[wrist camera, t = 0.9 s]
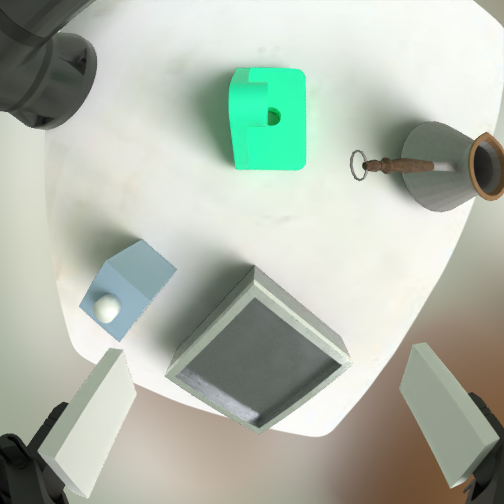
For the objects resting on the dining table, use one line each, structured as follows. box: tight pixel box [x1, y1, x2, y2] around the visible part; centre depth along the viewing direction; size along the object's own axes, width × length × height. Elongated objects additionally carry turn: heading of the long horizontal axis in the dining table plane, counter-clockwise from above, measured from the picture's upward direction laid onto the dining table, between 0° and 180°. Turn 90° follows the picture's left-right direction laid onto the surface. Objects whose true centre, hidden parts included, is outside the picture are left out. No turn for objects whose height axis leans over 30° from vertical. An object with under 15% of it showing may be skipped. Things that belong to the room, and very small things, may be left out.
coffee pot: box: [350, 121, 504, 212], centre depth 25 cm, size 21×12×15 cm, turn 96°
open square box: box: [165, 266, 353, 434], centre depth 36 cm, size 16×17×6 cm
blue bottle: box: [79, 239, 177, 342], centre depth 31 cm, size 6×7×12 cm
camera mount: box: [229, 68, 306, 171], centre depth 27 cm, size 12×8×10 cm, turn 0°
